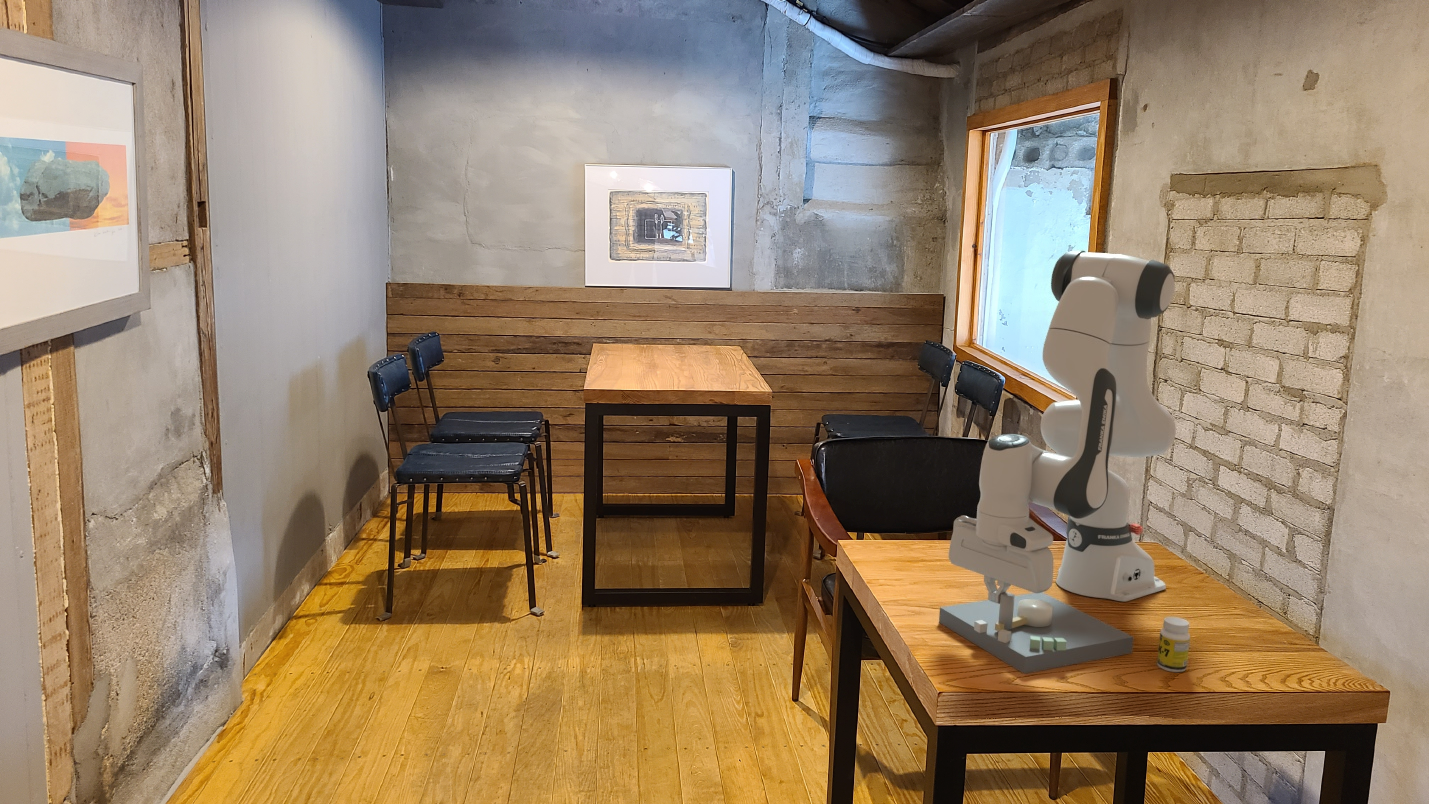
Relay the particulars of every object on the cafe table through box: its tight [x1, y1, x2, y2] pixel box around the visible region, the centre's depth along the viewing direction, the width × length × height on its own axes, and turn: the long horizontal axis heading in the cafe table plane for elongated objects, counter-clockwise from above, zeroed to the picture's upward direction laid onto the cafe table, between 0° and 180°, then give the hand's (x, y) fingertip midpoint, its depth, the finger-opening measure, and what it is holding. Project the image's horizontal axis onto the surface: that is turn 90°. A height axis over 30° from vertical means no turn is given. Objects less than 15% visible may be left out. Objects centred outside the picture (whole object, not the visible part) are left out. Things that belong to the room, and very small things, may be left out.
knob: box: [995, 591, 1053, 631], centre depth 196 cm, size 13×6×6 cm, turn 125°
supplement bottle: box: [1156, 616, 1191, 673], centre depth 187 cm, size 5×5×8 cm
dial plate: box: [938, 592, 1134, 675], centre depth 199 cm, size 25×24×5 cm
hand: (995, 601), depth 195 cm, fingers closed
